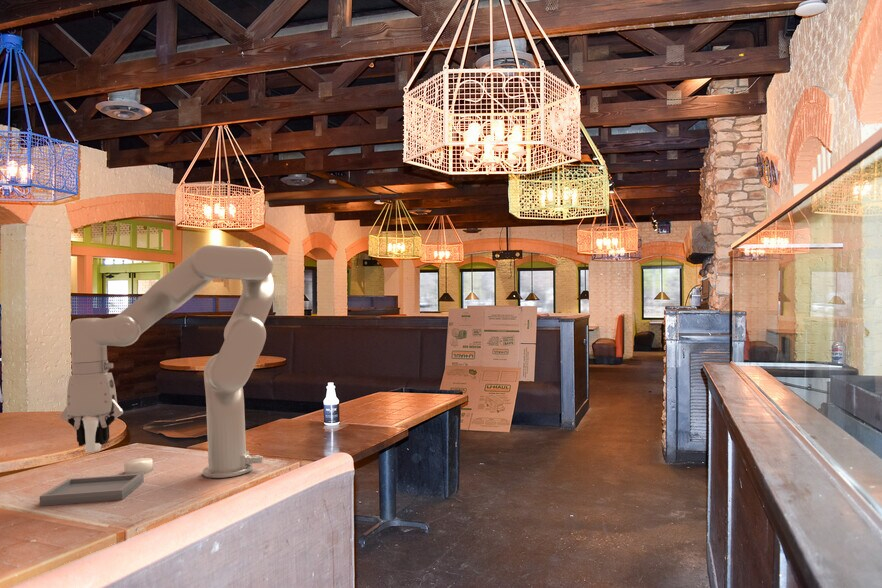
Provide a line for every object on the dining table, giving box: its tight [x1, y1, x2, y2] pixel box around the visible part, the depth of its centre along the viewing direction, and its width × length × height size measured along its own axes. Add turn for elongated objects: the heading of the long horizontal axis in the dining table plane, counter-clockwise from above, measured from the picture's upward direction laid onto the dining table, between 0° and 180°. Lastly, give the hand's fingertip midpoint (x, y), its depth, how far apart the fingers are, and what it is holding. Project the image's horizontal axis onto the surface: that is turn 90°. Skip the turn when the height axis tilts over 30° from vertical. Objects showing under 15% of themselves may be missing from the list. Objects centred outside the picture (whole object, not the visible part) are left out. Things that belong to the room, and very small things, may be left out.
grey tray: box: [39, 473, 145, 507], centre depth 150 cm, size 18×14×2 cm
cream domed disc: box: [123, 457, 154, 475], centre depth 168 cm, size 7×7×3 cm
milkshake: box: [82, 416, 102, 454], centre depth 150 cm, size 4×5×10 cm
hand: (93, 443), depth 150 cm, fingers closed on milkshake, 4 cm apart
